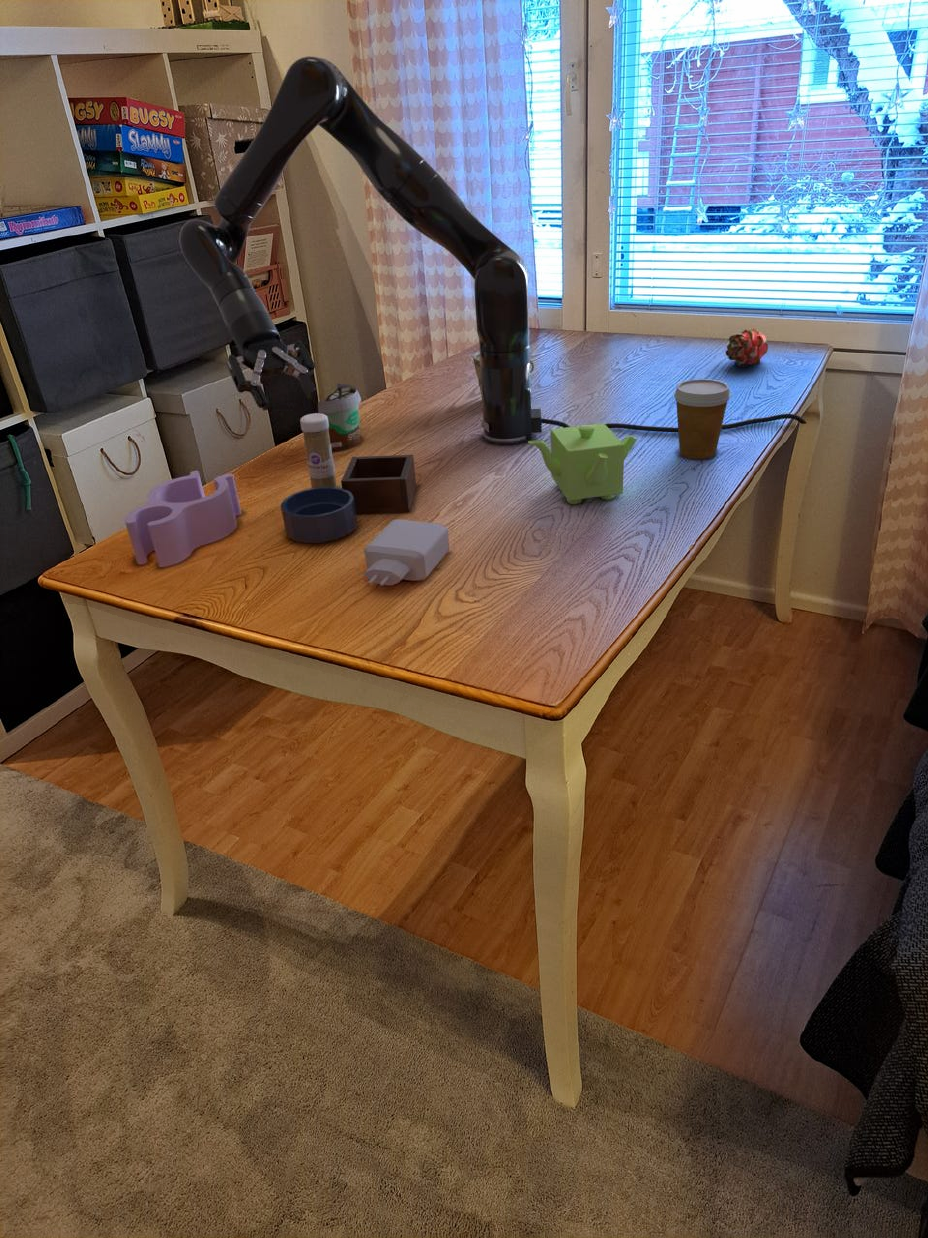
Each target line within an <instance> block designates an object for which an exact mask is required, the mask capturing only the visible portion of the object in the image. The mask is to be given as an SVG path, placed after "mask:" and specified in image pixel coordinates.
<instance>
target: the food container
mask: <svg viewBox="0 0 928 1238" xmlns="http://www.w3.org/2000/svg"><path fill="white" fill-rule="evenodd" d="M336 387H337V388H336V389H335V391H334V392H331V393H330V394H328V396H327V397H326V399H325V400H324V401H317V411H318V412H317V413H319V414H324V415H326V416H327V417H328V423H329V427H328V428H329V437H330V443H331V448H332V452H336V451H337V452H338V451H345V450H348V449H351V448H353V447H356V446H358V445H359V444H360V443H361V432H360V414H359V413H360V412H359V405H360V404H361V402H362V398H361V394H360V391H359V390H358V389H357V387H356V386H354V385H352V384H347V383H336Z"/></svg>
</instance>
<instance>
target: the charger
mask: <svg viewBox="0 0 928 1238" xmlns="http://www.w3.org/2000/svg"><path fill="white" fill-rule="evenodd" d="M363 551H364V556H365V558H364V559H365V565H366V571H364V573H363V576H364V577H365V578H366V579H367V580H369V581H368V583H367V584H369V585H372V584H373V583H375V584H378V585H380V587H381V586H382V587H383V586H384V585H385V586H393V585H396V584H399V583H400V582H401V581H402V580H405V581H413V582H416V581H417V582H419V581H424V580H426V578H427V577H428V576H429V575H430V574H431V573H432V571H434V569H435V568H436V566H438V564H439V563H440V562H441V561H442V559H443V558H444V557H445V556H446V555H447V553H448V552H450V537H449V529H448V527H447V526H445V525H444V524H442V523H437V522H426V521H417V520H411V519H410V520H409V519H401V518H400V519H393V520H391V521H390V522H389V523H388V524H387V525H386V526H385V527H384V528H383V529H382V530H381V531H380V532H379V533H378V534H377V535H376V536H375V537H374V538H373V539H372V540H371V541H370V542H369V543H368V544H367V545H366V546H365V547H364V549H363Z"/></svg>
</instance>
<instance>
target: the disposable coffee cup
mask: <svg viewBox="0 0 928 1238" xmlns="http://www.w3.org/2000/svg"><path fill="white" fill-rule="evenodd" d="M673 397H674V400H675V402H676V403H675V404H676V418H677V420H676V421H677V428H678V433H677V435H678V449H679V455H681V457H683V458H687V459H691V460H707V459H711V458H714V456H716V455H717V450H718V447H719V446H718V445H719V441H720V437H721V432H722V430H721V428H722V425H723V424H724V418H725V415H726V409H727V404H728V402H729V400H730V398H731V397H732V392H731V391H730V386H729V385H728V383H726V382H725V381H721V380H718V379H711V378H694V379H688V380H684V381H681V382H679V383H678V384H677V385H676V388H675V391H674V392H673Z"/></svg>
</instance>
